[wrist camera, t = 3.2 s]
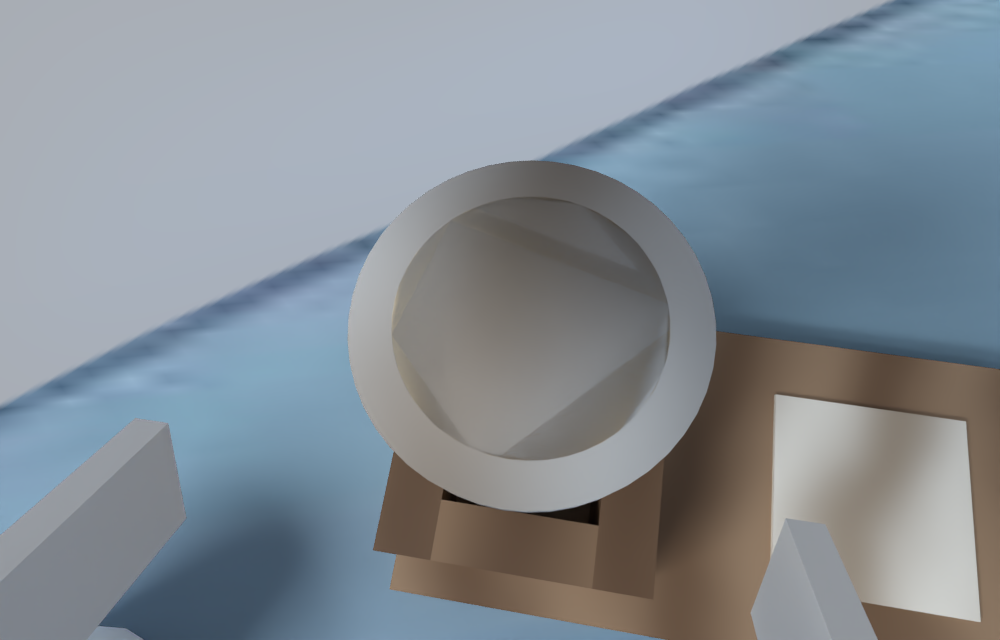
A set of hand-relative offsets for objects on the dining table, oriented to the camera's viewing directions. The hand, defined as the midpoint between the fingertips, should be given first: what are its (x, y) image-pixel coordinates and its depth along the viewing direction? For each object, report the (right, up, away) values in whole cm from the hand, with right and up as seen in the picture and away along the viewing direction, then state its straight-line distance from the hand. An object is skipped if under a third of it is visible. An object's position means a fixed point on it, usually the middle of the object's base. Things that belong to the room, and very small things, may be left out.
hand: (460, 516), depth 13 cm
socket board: (+9, -2, +12) cm, 15 cm away
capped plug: (+2, -1, +12) cm, 12 cm away
